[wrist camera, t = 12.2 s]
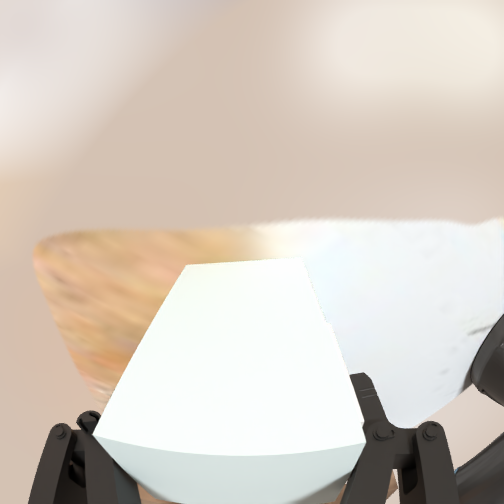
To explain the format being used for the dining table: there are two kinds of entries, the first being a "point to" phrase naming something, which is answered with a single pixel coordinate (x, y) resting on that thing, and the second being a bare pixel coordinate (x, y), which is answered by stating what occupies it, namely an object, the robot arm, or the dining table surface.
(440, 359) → the dining table surface
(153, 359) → the white stepped block
